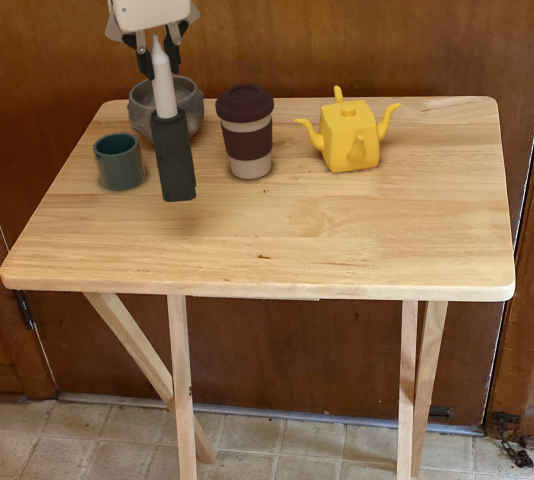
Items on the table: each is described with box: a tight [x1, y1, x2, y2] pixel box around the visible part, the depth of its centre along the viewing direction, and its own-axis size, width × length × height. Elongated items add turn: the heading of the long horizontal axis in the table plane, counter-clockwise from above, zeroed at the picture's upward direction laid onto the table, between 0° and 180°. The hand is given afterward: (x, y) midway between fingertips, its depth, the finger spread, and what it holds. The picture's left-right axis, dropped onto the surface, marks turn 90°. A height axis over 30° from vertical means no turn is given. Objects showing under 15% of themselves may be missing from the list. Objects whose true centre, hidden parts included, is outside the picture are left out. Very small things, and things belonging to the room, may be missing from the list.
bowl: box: [126, 74, 205, 144], centre depth 154 cm, size 14×15×10 cm
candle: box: [150, 33, 197, 203], centre depth 117 cm, size 5×5×25 cm
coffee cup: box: [214, 82, 275, 180], centre depth 141 cm, size 10×10×15 cm
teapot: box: [293, 85, 402, 174], centre depth 144 cm, size 15×14×10 cm
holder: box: [92, 132, 146, 191], centre depth 145 cm, size 8×8×7 cm
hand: (160, 72), depth 112 cm, fingers closed on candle, 3 cm apart
